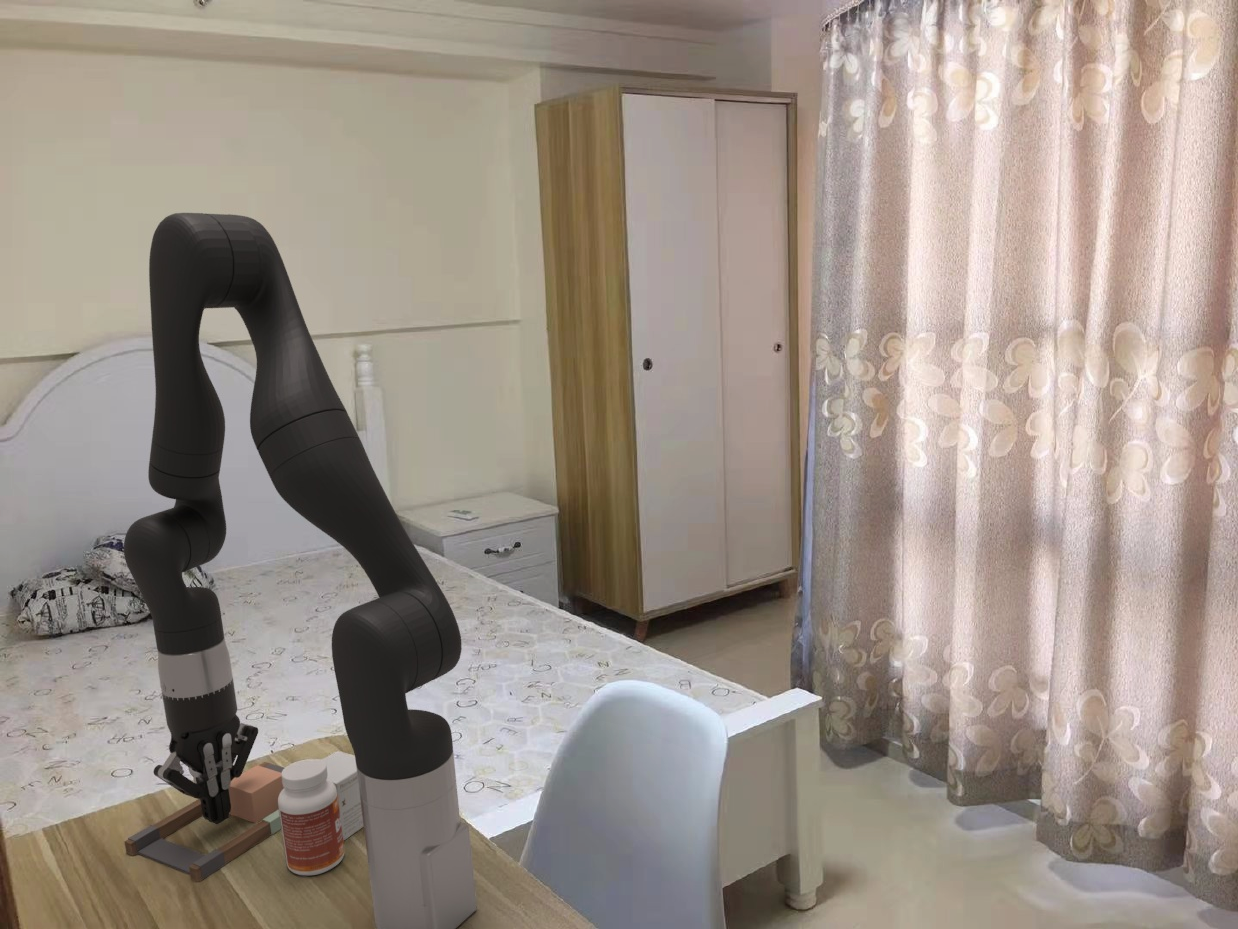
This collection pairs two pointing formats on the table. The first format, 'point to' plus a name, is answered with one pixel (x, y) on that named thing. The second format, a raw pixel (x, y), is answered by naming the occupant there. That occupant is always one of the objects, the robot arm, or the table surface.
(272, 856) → the table surface
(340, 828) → the pill bottle
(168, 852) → the frame
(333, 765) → the product box
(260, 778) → the terracotta block
